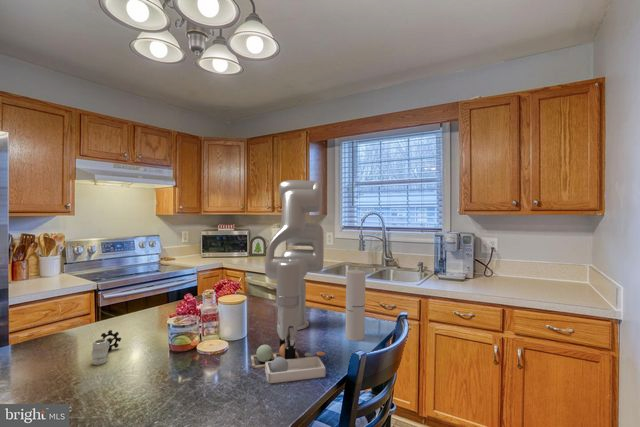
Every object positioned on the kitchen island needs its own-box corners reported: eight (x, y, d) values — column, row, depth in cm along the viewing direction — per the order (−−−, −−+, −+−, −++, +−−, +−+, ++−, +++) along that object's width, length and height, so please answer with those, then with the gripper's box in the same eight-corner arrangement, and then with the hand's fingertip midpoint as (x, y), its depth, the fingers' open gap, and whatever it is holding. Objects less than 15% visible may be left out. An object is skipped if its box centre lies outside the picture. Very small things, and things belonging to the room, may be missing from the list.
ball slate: (269, 372, 96) (269, 354, 96) (286, 370, 98) (286, 353, 98) (271, 380, 91) (272, 362, 91) (289, 378, 93) (289, 360, 93)
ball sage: (255, 358, 105) (255, 342, 105) (271, 357, 106) (271, 341, 106) (256, 365, 100) (257, 349, 100) (273, 364, 102) (273, 347, 102)
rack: (250, 358, 106) (250, 355, 106) (296, 353, 110) (296, 350, 110) (252, 369, 98) (252, 366, 98) (301, 364, 103) (301, 361, 103)
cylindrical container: (363, 341, 121) (364, 273, 121) (344, 339, 123) (345, 272, 123) (364, 334, 128) (366, 270, 128) (346, 333, 130) (347, 269, 130)
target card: (299, 353, 111) (299, 351, 111) (325, 350, 113) (325, 348, 113) (303, 361, 105) (303, 359, 105) (330, 358, 107) (330, 356, 107)
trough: (265, 371, 97) (265, 361, 97) (318, 365, 102) (318, 356, 102) (268, 385, 90) (268, 374, 90) (325, 378, 94) (325, 367, 94)
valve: (109, 364, 100) (121, 348, 112) (110, 342, 100) (121, 329, 112) (84, 367, 98) (98, 350, 110) (84, 344, 98) (99, 330, 110)
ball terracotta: (278, 356, 107) (278, 340, 107) (293, 354, 108) (293, 339, 108) (280, 363, 102) (280, 347, 102) (296, 361, 104) (296, 345, 104)
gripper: (272, 294, 112) (271, 345, 113) (281, 308, 96) (279, 368, 96) (294, 293, 115) (293, 343, 115) (306, 307, 98) (305, 365, 98)
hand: (287, 354), depth 105 cm, fingers open, 8 cm apart
